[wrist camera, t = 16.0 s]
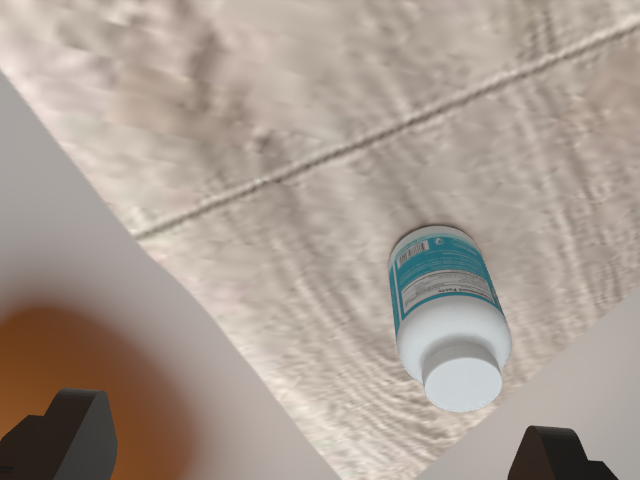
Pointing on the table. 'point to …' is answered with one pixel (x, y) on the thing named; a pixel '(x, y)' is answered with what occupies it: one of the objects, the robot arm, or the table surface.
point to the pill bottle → (448, 318)
